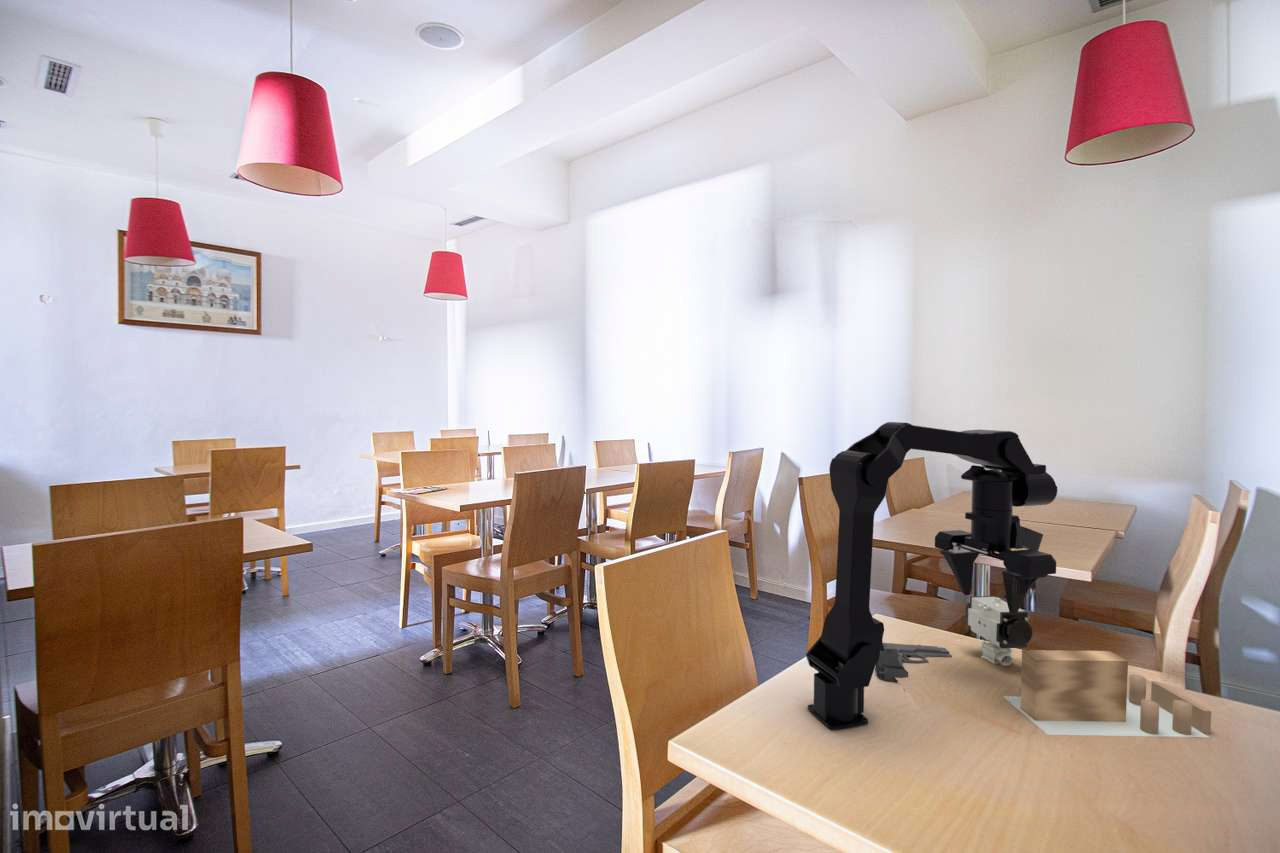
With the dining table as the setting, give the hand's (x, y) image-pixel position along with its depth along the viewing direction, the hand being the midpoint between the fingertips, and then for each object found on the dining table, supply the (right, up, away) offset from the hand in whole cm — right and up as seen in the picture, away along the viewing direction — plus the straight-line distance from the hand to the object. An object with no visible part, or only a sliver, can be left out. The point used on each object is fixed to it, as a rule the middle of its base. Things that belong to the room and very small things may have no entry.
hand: (989, 603), depth 98 cm
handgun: (-8, -15, +10) cm, 19 cm away
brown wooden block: (+8, -14, -8) cm, 18 cm away
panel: (+12, -15, -8) cm, 21 cm away
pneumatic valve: (+7, -14, +11) cm, 20 cm away
